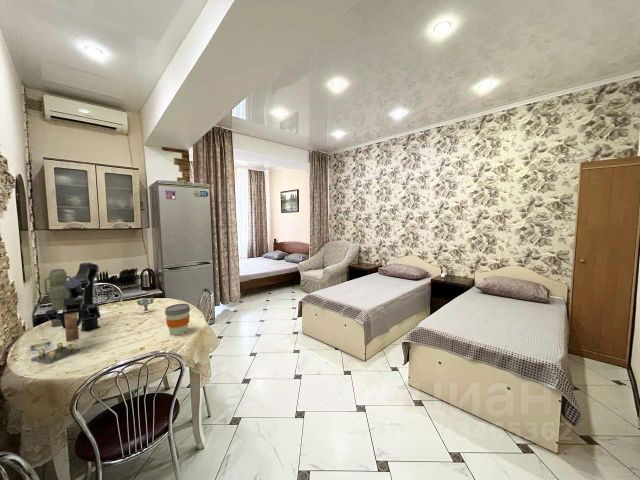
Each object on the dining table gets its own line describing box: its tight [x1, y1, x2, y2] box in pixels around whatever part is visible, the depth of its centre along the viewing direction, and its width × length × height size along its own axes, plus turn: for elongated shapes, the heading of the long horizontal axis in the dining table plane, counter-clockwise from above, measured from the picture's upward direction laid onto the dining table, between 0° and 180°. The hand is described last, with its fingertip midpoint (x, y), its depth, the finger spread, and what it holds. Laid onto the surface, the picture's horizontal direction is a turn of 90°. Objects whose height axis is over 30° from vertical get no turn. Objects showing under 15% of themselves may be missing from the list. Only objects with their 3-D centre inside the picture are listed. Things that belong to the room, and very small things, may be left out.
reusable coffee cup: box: [164, 303, 191, 336], centre depth 146 cm, size 13×13×15 cm
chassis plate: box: [30, 342, 81, 365], centre depth 121 cm, size 12×12×4 cm
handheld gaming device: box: [25, 339, 54, 356], centre depth 129 cm, size 9×1×15 cm
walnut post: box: [64, 312, 80, 343], centre depth 122 cm, size 4×4×13 cm
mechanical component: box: [136, 297, 155, 312], centre depth 178 cm, size 3×10×10 cm, turn 148°
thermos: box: [43, 268, 72, 328], centre depth 159 cm, size 9×12×35 cm
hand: (70, 327), depth 121 cm, fingers closed on walnut post, 4 cm apart
